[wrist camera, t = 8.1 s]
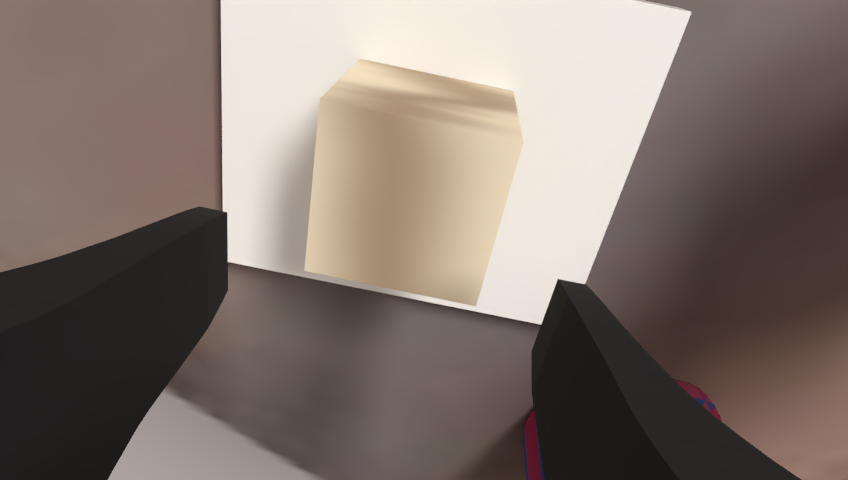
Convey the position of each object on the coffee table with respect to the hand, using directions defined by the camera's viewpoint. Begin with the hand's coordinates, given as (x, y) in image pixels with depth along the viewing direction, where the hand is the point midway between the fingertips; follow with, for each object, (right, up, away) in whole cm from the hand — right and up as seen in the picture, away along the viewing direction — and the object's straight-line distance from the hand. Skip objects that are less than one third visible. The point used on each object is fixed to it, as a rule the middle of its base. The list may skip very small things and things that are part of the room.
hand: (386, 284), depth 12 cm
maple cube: (+1, +4, +7) cm, 8 cm away
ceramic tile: (+1, +4, +8) cm, 9 cm away
